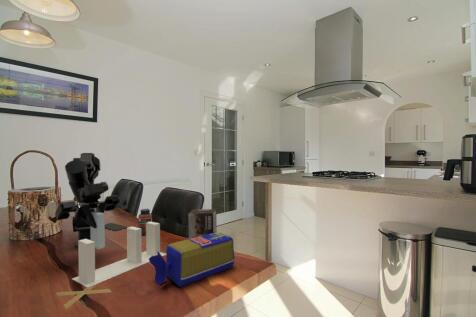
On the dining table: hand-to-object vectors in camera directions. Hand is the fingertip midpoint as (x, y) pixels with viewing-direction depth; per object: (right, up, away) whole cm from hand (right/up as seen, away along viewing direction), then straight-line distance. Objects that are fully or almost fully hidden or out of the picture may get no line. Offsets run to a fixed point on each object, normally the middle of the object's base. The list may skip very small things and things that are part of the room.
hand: (99, 226), depth 81 cm
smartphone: (-19, -13, +46) cm, 51 cm away
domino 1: (+2, -12, -10) cm, 16 cm away
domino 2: (-1, -7, +1) cm, 7 cm away
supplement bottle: (+2, -13, +35) cm, 37 cm away
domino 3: (+10, -12, +2) cm, 16 cm away
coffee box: (+32, -13, +9) cm, 36 cm away
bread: (+32, -13, -5) cm, 35 cm away
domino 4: (+14, -12, +9) cm, 21 cm away
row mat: (+8, -13, 0) cm, 15 cm away
